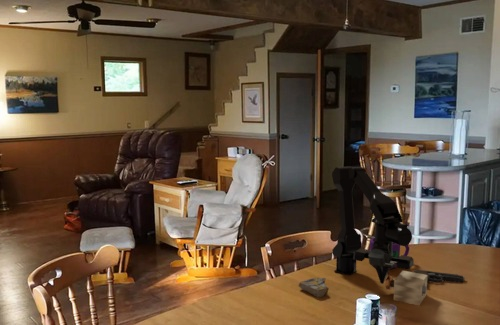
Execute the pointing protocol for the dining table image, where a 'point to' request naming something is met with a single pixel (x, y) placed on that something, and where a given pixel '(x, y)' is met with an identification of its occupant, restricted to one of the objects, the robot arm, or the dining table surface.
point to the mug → (393, 249)
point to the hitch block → (410, 287)
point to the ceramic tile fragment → (314, 286)
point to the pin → (391, 284)
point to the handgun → (440, 276)
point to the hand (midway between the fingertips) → (382, 283)
